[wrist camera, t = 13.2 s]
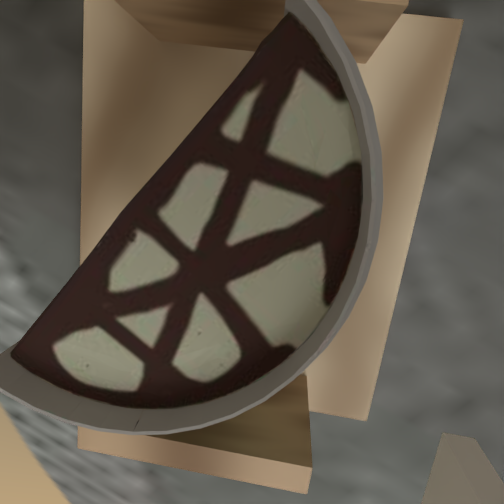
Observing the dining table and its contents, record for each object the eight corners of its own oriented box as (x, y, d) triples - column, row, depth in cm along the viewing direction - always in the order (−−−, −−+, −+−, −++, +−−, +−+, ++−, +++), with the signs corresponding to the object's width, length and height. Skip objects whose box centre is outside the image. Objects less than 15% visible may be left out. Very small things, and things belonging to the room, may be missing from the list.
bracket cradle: (453, 28, 16) (572, -72, 9) (363, 409, 20) (397, 530, 14) (96, -9, 17) (-35, -122, 10) (88, 359, 22) (-6, 448, 15)
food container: (219, 351, 20) (146, 536, 10) (131, 272, 19) (-37, 386, 9) (400, 176, 17) (551, 196, 7) (301, 77, 16) (312, -52, 6)
